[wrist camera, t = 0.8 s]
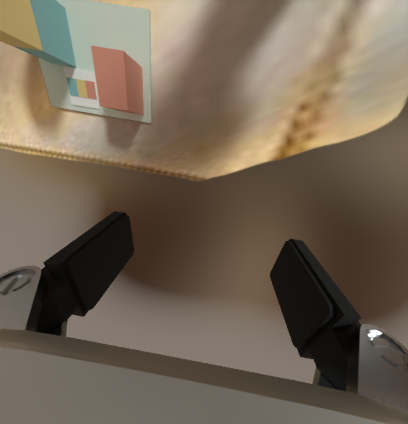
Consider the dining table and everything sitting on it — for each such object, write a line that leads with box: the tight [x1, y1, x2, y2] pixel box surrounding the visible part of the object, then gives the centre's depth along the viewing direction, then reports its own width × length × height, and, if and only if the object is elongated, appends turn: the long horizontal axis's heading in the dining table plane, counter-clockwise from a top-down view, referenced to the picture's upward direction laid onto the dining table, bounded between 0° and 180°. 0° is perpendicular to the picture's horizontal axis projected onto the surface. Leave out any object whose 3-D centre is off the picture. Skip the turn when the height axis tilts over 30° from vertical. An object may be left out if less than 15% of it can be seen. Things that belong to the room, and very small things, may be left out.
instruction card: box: [64, 67, 100, 109], centre depth 30 cm, size 6×6×1 cm
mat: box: [38, 0, 152, 123], centre depth 28 cm, size 16×22×1 cm
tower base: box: [0, 0, 76, 67], centre depth 21 cm, size 8×5×12 cm, turn 171°
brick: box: [91, 46, 144, 115], centre depth 26 cm, size 8×5×6 cm, turn 171°
